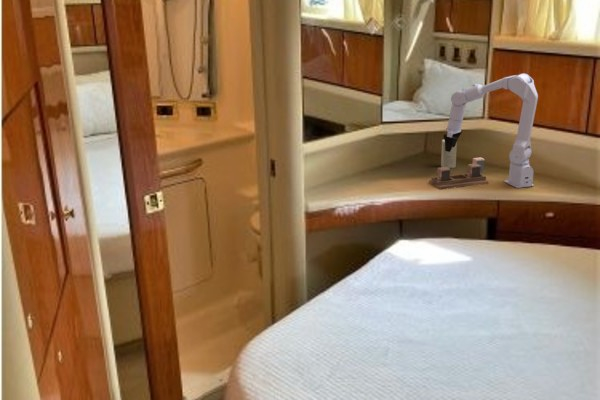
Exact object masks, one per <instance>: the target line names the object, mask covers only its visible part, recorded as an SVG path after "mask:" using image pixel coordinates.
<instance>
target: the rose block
mask: <svg viewBox="0 0 600 400" xmlns="http://www.w3.org/2000/svg"><path fill="white" fill-rule="evenodd" d="M485 162H486V160H485V158H483V157H473V158H472V163H471V164H479V165H481V166H480V174H482V173H484V172H485Z"/></svg>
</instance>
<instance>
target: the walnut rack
mask: <svg viewBox="0 0 600 400" xmlns="http://www.w3.org/2000/svg"><path fill="white" fill-rule="evenodd" d="M480 166H481V165H479V164H472V163H470V164H467V173H461V174H452V175H451V168H448V167H442V166H440V167H437V173H436V174H437V176H435V177H431V178H430V179H429V180H428V183H429V184H430V185H432V186H433V187H436V188H437V189H439V190H447V188H448V189H455V188H454V187H456V188H462V187H463V188H464V187H471V186H472V187H473V186H479V184H481V185H488V184H489V180H487V176H485V175H484V174H483V173H480Z"/></svg>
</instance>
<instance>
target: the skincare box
mask: <svg viewBox="0 0 600 400" xmlns="http://www.w3.org/2000/svg"><path fill="white" fill-rule="evenodd" d="M457 143H458V141H457V142H456V145H455V147H452V149H451V151H450V152H448V151H445V140H444V139H441V156H440V157H441V158H440V167H448V168H450V169H451V168H452V169H453V168H456V166H457V165H456V164H457V147H458V144H457Z"/></svg>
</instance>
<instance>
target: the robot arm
mask: <svg viewBox="0 0 600 400" xmlns="http://www.w3.org/2000/svg"><path fill="white" fill-rule="evenodd" d="M499 89H504V90H509V91H511V92H512V93H514V94H515V95H517V96H519V98H520V99H521V100H522V106H521V111H520V112H521V113H520V117H519V124H518V128H517V134H516V138H515V141H514V143H513V146H512V149H511V151H509V154H508V158H509V161H510V162H509V171H508V173H509V174H508V179H504V180H503V182H504V183H505V184H508V185H511V186H512V187H515V188H517V189H519V188H527V187H534V186H535V184H533V181H534V169H533V167H532V166H530V159H529V158H530V157H531V156H532V154H533V153H532V152H533V150H532V142H531V135H532V131H533V126H534V120H535V114H536V112H537V111H536V110H537V104H538V99H539V94H538V92H537V91H538V90H537V89H536V86H535V81H534V78H532V77H531V76H530V75H529V74H527V73H519V74H515V75H509V76H505V77H503V78H501V79H498V80H496V81H493V82H490V83H487V84H484V85H482V84H481V83H474V84H472V85H471V86H470V87H467V88H465V87H463V88H461V90H459V91H456V92H454V93H452V94H451V97H450V101H451V103H452V104H451V109H450V113H449V118H448V123H447V126H446V127H447V128H446V129H445V130H446V131H447V134H445V133H444V134H443V140H445V151H448V152H450V151H451V149H452V147H455V145H456V142H457V143H458V139H459V137H461V135H462V133H463V131H462V126H463V120H464V116H465V111H466V107H467V106H466V105H467V104H468V103H471V102H474V101H476V100H479V99H482V98H484V97H485V96H486V94H487V93H490V92H493V91H496V90H499Z"/></svg>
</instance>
